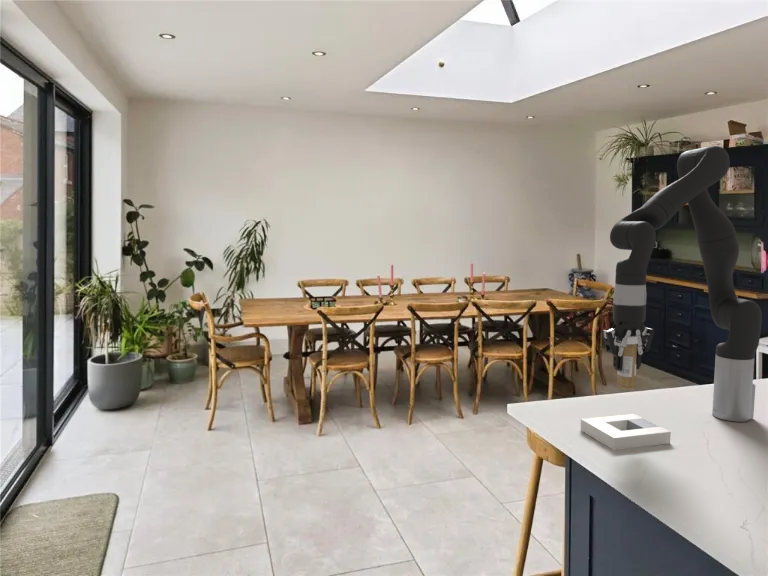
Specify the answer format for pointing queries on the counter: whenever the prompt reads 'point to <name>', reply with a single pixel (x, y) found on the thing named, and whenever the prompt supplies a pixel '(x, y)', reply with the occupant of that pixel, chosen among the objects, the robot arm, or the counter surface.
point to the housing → (625, 431)
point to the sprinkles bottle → (628, 365)
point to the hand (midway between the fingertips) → (626, 369)
